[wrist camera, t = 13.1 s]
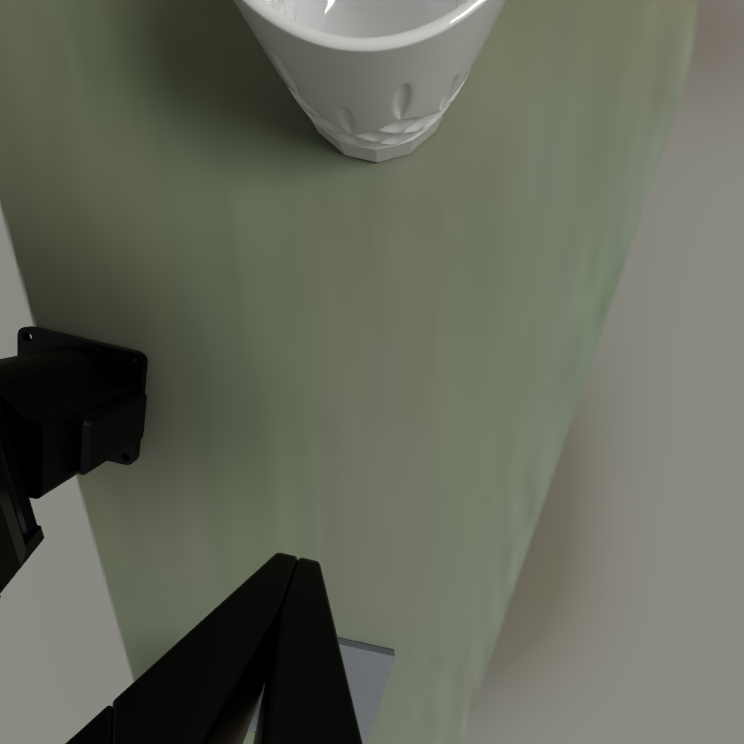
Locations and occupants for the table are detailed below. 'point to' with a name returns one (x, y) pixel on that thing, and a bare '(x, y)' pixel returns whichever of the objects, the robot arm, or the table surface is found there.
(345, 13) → the white cup
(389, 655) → the slate mat
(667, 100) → the table surface
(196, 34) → the table surface
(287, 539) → the table surface
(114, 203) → the table surface
